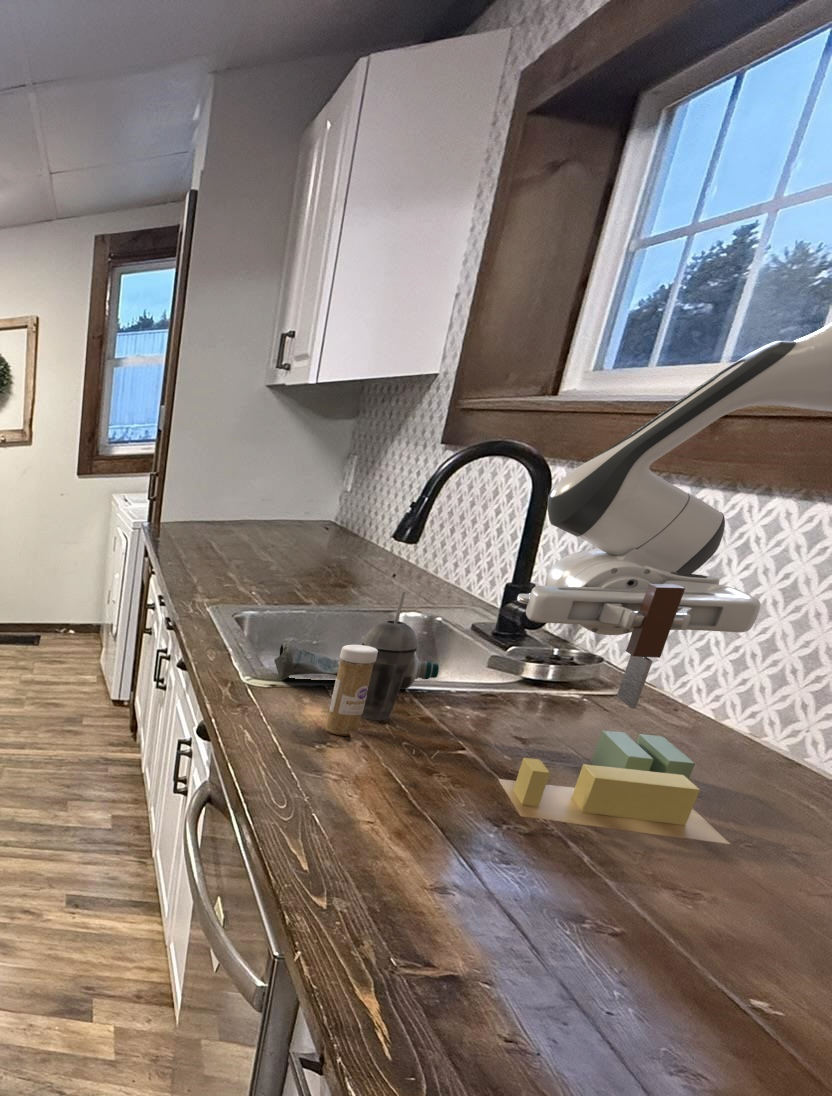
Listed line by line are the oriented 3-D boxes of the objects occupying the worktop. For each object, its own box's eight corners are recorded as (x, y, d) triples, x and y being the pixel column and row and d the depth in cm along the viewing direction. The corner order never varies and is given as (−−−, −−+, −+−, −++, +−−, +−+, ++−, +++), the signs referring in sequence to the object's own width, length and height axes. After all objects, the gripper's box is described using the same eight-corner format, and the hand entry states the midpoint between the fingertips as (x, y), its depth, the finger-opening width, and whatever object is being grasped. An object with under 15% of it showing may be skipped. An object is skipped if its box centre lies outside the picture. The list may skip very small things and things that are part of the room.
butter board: (680, 812, 99) (685, 800, 99) (725, 856, 90) (731, 844, 89) (494, 789, 107) (497, 778, 106) (517, 827, 97) (521, 816, 97)
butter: (669, 809, 97) (683, 774, 95) (685, 825, 93) (700, 789, 91) (571, 797, 101) (583, 763, 99) (582, 812, 97) (595, 777, 95)
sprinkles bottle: (348, 738, 125) (368, 652, 120) (318, 730, 129) (336, 646, 123) (364, 732, 127) (384, 647, 122) (334, 724, 131) (352, 642, 126)
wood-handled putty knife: (631, 697, 100) (672, 582, 94) (647, 709, 96) (690, 590, 90) (605, 695, 101) (644, 581, 96) (620, 707, 97) (661, 589, 91)
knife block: (645, 778, 108) (662, 735, 106) (677, 808, 100) (695, 763, 98) (586, 771, 111) (601, 730, 109) (612, 800, 103) (629, 756, 100)
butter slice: (528, 792, 102) (539, 759, 101) (538, 806, 99) (550, 772, 97) (512, 790, 103) (523, 757, 101) (521, 804, 99) (533, 770, 98)
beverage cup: (340, 716, 134) (368, 594, 126) (353, 705, 139) (380, 586, 131) (392, 726, 129) (424, 599, 121) (404, 714, 134) (435, 591, 126)
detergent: (269, 685, 150) (438, 699, 138) (276, 646, 148) (448, 657, 136) (272, 672, 161) (429, 684, 148) (278, 636, 158) (438, 645, 146)
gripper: (520, 570, 108) (550, 589, 97) (733, 576, 99) (793, 598, 88) (506, 618, 111) (534, 642, 99) (713, 628, 102) (769, 655, 91)
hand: (658, 621), depth 94 cm, fingers closed on wood-handled putty knife, 2 cm apart
